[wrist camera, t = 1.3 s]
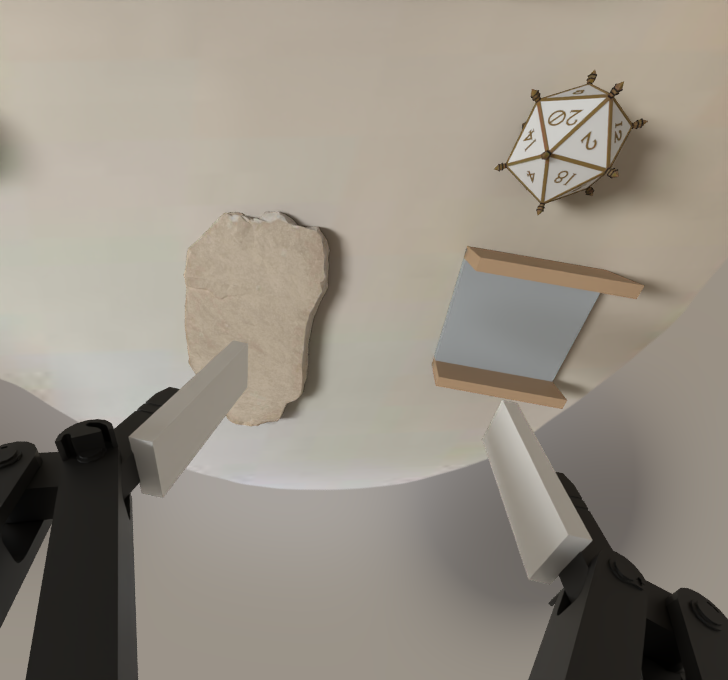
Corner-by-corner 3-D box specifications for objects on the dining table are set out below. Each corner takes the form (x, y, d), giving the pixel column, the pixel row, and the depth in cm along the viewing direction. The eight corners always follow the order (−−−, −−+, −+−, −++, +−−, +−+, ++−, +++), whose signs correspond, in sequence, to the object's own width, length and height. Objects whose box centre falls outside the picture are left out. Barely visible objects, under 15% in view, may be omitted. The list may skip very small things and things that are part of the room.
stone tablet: (342, 230, 32) (338, 233, 30) (294, 430, 45) (289, 442, 43) (190, 181, 31) (174, 180, 29) (187, 398, 45) (177, 409, 43)
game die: (508, 171, 31) (461, 191, 25) (564, 59, 24) (519, 51, 19) (594, 211, 28) (564, 244, 22) (685, 95, 21) (676, 99, 16)
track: (467, 246, 31) (480, 257, 26) (605, 269, 30) (644, 285, 26) (431, 364, 37) (436, 391, 32) (544, 384, 37) (566, 415, 32)
